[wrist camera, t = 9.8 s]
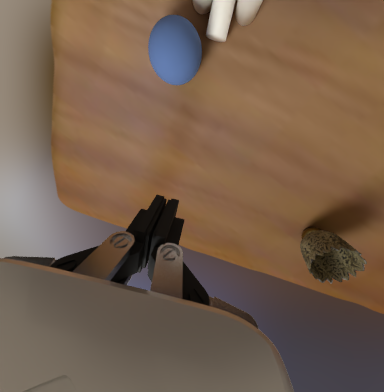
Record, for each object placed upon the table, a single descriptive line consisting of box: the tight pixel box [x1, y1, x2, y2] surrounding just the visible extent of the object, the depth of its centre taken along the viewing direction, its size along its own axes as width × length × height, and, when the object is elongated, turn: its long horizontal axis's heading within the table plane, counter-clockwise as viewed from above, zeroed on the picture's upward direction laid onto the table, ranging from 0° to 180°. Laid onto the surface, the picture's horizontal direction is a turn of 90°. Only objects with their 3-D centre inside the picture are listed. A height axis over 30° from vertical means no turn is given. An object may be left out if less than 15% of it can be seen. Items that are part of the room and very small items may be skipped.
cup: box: [300, 227, 367, 283], centre depth 29 cm, size 8×7×8 cm
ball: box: [148, 15, 202, 85], centre depth 19 cm, size 6×6×6 cm
